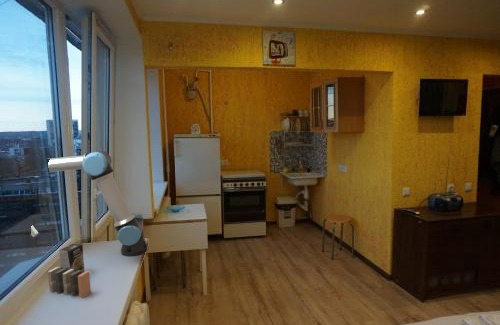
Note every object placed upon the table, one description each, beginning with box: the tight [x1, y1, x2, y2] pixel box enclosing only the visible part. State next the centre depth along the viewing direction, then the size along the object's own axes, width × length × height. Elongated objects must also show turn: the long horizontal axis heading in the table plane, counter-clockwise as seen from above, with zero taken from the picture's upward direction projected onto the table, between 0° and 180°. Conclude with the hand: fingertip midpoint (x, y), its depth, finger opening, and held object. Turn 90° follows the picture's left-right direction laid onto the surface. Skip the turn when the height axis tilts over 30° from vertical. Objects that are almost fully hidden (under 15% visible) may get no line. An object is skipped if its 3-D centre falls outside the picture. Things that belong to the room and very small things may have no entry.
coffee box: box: [58, 243, 86, 273], centre depth 158 cm, size 9×6×16 cm
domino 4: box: [70, 270, 82, 297], centre depth 143 cm, size 2×5×10 cm, turn 164°
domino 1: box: [47, 266, 61, 293], centre depth 147 cm, size 2×5×10 cm, turn 164°
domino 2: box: [55, 268, 67, 295], centre depth 146 cm, size 2×5×10 cm, turn 164°
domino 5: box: [78, 270, 92, 299], centre depth 142 cm, size 2×5×10 cm, turn 164°
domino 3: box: [63, 269, 75, 296], centre depth 144 cm, size 2×5×10 cm, turn 164°
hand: (35, 235), depth 154 cm, fingers closed
